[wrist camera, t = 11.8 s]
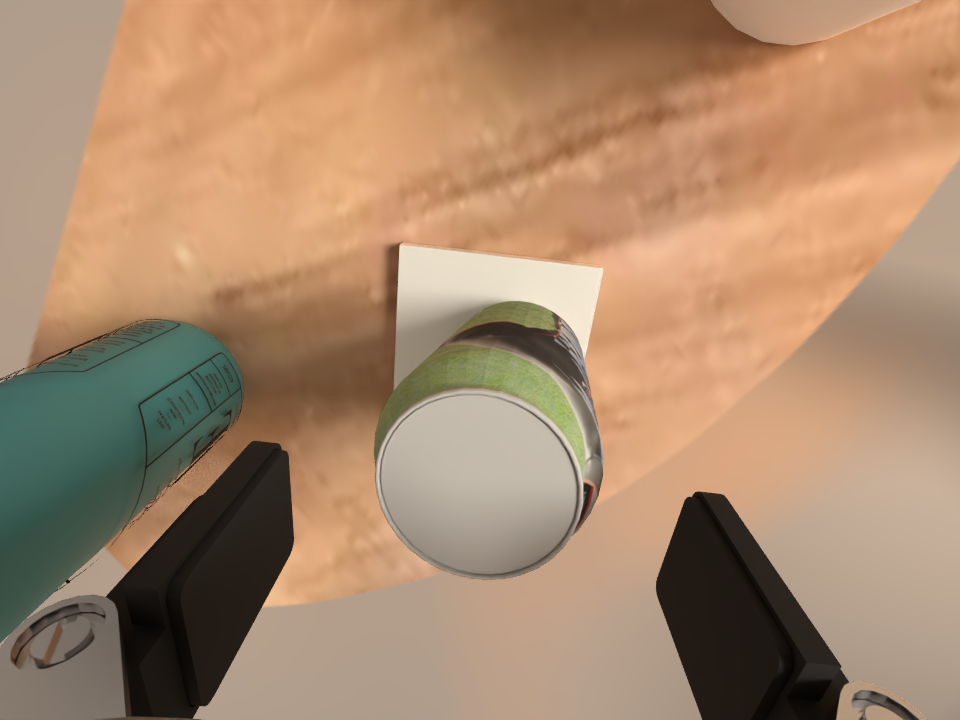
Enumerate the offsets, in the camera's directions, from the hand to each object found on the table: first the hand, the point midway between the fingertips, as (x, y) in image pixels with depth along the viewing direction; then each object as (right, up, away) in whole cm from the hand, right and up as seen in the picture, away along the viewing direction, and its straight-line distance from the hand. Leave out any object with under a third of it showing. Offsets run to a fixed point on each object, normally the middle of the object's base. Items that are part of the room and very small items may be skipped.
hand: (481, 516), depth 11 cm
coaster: (0, +4, +12) cm, 13 cm away
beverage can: (+1, +4, +11) cm, 12 cm away
